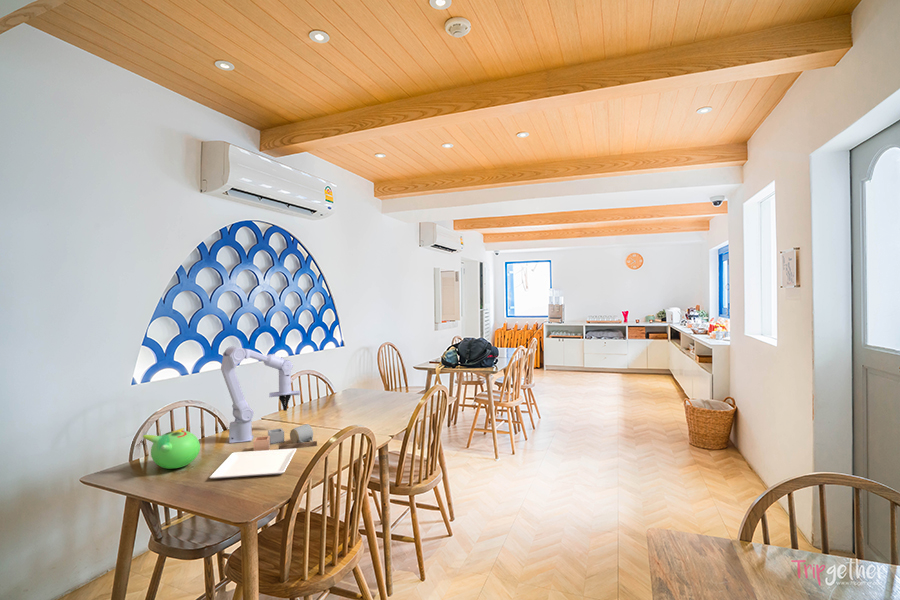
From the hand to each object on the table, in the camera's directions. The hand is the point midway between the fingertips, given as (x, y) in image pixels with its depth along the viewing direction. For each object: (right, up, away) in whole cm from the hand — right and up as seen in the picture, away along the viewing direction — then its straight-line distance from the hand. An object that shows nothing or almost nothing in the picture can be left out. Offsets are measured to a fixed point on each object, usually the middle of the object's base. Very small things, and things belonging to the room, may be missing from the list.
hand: (285, 410), depth 222 cm
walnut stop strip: (+16, -10, -26) cm, 32 cm away
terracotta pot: (+1, -10, -29) cm, 31 cm away
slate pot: (+3, -10, -18) cm, 21 cm away
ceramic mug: (+16, -10, -20) cm, 28 cm away
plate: (+6, -11, -47) cm, 49 cm away
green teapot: (-26, -11, -48) cm, 55 cm away
